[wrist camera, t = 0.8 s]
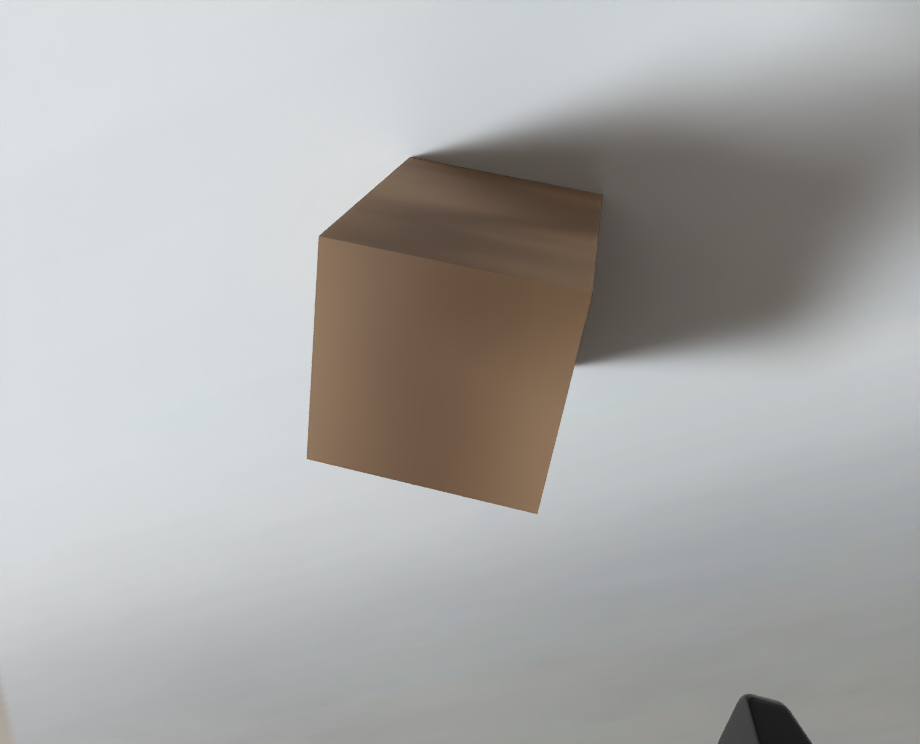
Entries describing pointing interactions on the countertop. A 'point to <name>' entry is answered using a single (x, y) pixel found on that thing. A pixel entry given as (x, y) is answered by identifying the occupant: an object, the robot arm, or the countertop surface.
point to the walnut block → (451, 329)
